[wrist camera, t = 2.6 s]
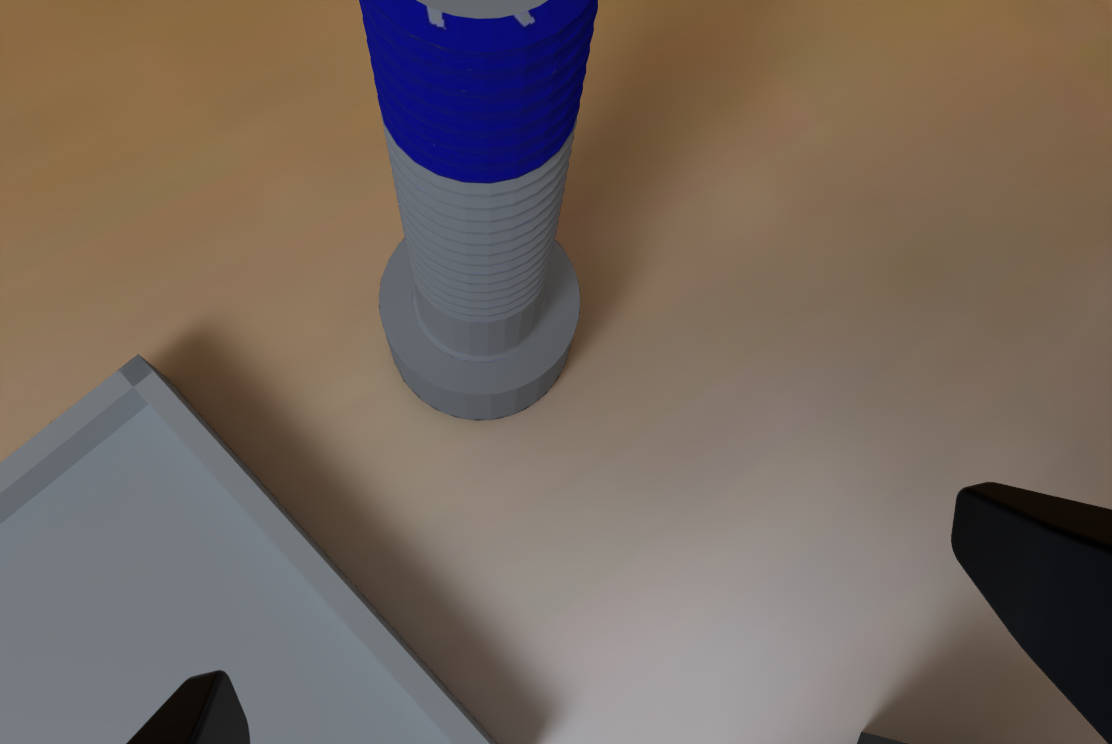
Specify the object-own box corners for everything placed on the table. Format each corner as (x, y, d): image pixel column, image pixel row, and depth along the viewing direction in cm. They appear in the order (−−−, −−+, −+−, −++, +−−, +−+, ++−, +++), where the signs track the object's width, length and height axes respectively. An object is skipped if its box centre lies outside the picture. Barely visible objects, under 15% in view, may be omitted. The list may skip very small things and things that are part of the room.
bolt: (529, 232, 27) (596, 385, 26) (366, 289, 26) (427, 450, 25) (589, -277, 12) (756, 36, 11) (209, -185, 11) (346, 167, 10)
